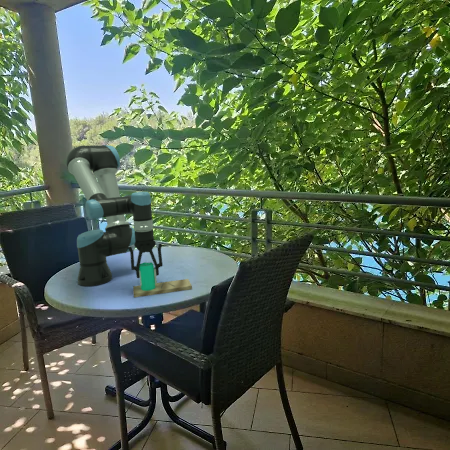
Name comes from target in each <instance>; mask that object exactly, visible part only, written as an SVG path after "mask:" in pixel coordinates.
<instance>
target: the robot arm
mask: <svg viewBox="0 0 450 450" xmlns="http://www.w3.org/2000/svg"><path fill="white" fill-rule="evenodd" d="M120 161H121V157H120V154H119V152H118V150H117V149H116V148H115V147H114V146H113V145H109V144H108V145H107V144H102V145H101V144H100V145H84V144H83V145H78V146H75V147H74V148H72V150H70V152H68V154H67V156H66V159H65V165H66V168H67V170H68V173H69V174H71V175H73V177H74V179H75V180H76V182H77V184H78V186H79V188H80V190H81V191H82V194H83V195H84V197H85V199H86V201H85V206H84V207H85V212H86V216H87V217H88V218H89V219H103V218H105V219H106V224H107V225H106V226H105V228H104V230H105V231H104V230H103V229H91V230H88V231H85V232H82V233H80V234H78V236H77V238H76V248H77V253H78V254H77V255H78V261H79V270H78V274H77V284H78V285H79V286H81V287H94V286H100V285H103V284H107V283H109V282H110V281H112V280H113V274H112V271H111V269H110V267H109V265H108V263H107V257H111V256H116V255H122V254H126V253H130V266H131V267H130V268H131V271H135V272H136V279H139V284H140V286H142V283H141V272H140V271H139V267H140V264H141V262H142V257H143V254H145V253H149V255H150V257H151V260H152V263H153V266H154V278H155V284H157V283H158V280H157V279H158V278H157V277H158V276H160V271H159V269H160V268H162V267H163V266H164V265H163V258H162V242H157V241H156V240H155V235H154V234H155V233H154V223H153V211H152V200H151V199H152V198H151V194H150V192H148V191H136V192H132V193H131V194H126V195H124V196H121V195H120V189H119V184H118V181H117V176H116V174H117V173H118V171H119V170H118V169H119V168H120V166H121V162H120ZM130 214H132V218H133V219H132V220H133V221H132V222H133V227H131V225H130V223H129V222H128V221H126V218H125V215H130ZM155 247H156V248H157V257H158V262H157V259H156V257H155V254H154V251H153V249H154V248H155ZM135 249H137V250H138V255H137V260H136V265H135V257H134V255H135V254H134V251H135Z"/></svg>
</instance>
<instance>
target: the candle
mask: <svg viewBox="0 0 450 450" xmlns="http://www.w3.org/2000/svg"><path fill="white" fill-rule="evenodd" d="M154 267H155V265H154V263H153V261H152V262H147V261H144V262H142V263H141V262H140V267H139V271H140V272H141V283H142V286H141V290H144V291H148V290H153V289H154V288H155V278H154Z"/></svg>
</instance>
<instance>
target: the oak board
mask: <svg viewBox="0 0 450 450" xmlns="http://www.w3.org/2000/svg"><path fill="white" fill-rule="evenodd" d="M192 289H193V285H192V283H191V282H190V279H189V278H185V279H184V278H183V279H179V280H178V279H175V280H171V281H170V280H169V281H164V282H157V284H155V288H154V289H153V290H148V291H144V290H141V286H140V285H139V284H138V285H133V288H132V290H133V291H132V292H133V293H132V294H133V298H140V297H147V296H153V295H160V294H168V293H175V292H182V291H189V290H192Z"/></svg>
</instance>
